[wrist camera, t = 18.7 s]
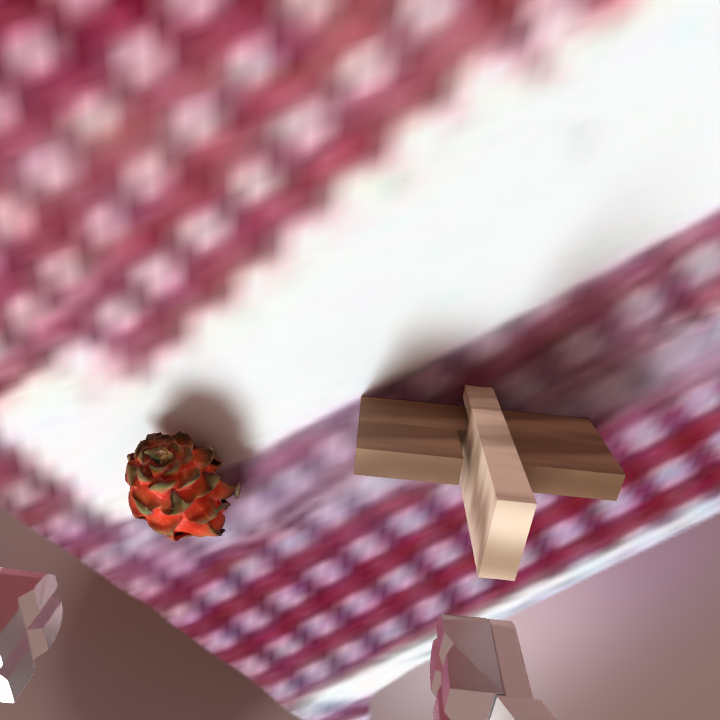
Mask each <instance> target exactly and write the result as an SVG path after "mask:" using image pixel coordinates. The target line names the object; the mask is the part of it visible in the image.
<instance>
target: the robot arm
mask: <svg viewBox="0 0 720 720" xmlns="http://www.w3.org/2000/svg"><path fill="white" fill-rule="evenodd" d="M57 587H58V585H57V582H56V578H55V575H52V574H46V573H38V572H31V571H24V570H16V569H9V568H0V702H10V703H14V702H15V701H16V699H17V697H18V696H19V694H20V693H21V691H22V690H23V688H24V686H25V685H26V684H27V682H28V680H29V679H30V677H31V676H32V674H33V673H34V671H35V665H34V659H35V658H36V657H38V656H39V655H41V654H42V653H44V652H45V651H47V650H48V649H49V648H50V646H51V644H52V643H53V641H54V639H55V638H56V636H57V633H58V630H59V627H60V625H61V622H62V612H63V610H62V604H61V601H60V600H59V599H58V598H57V597H56V596H55V595H54V594H53V592H54V591H55V589H56V588H57ZM436 627H437V638H436V639H435V640H434V641H433V645H432V651H431V662H430V679H431V691H432V692H433V694H434V695H435V697H436V700H435V705H434V709H433V720H557V719H556V717H555V716H554V715H553V714H552V713H551V711H550V710H549V709H548V708H547V707H546V706H545V704H544V703H543V702H542V701H541V700H538V699H533V696H532V692H531V688H530V684H529V680H528V676H527V672H526V668H525V664H524V660H523V656H522V652H521V648H520V644H519V640H518V636H517V632H516V628H515V625H514V624H513V622H511V621H503V620H493V619H486V618H478V617H467V616H456V615H445V614H440V616H439V618H438V622H437V626H436Z"/></svg>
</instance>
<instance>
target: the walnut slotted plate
mask: <svg viewBox="0 0 720 720" xmlns="http://www.w3.org/2000/svg"><path fill="white" fill-rule="evenodd" d="M502 413H503V416H504V418H505V421H506V424H507V426H508V429H509V432H510V434H511V437H512V439H513V442H514V445H515V447H516V450H517V453H518V455H519V458H520V461H521V463H522V466H523V469H524V471H525V474H526V476H527V479H528V482H529V484H530V487H531V490H532V492H534V493H544V494H554V495H564V496H574V497H584V498H593V499H603V500H613V501H616V500H617V497H618V495H619V492H620V489H621V487H622V484H623V481H624V478H625V476H626V475H625V473H624V472H623V470H622V469H621V467H620V466H619V464H618V463H617V461H616V460H615V458H614V457H613V455H612V453H611V452H610V450H609V449H608V447H607V446H606V444H605V443H604V441H603V440H602V438H601V437H600V435H599V434H598V432H597V431H596V429H595V427H594V426H593V424H592V423H591V421H590V420H589V419H587V418H577V417H567V416H556V415H546V414H536V413H526V412H516V411H506V410H502ZM468 424H469V419H468V416H467V412H466V408H465V406H456V405H446V404H436V403H426V402H416V401H406V400H395V399H385V398H375V397H365V396H361V404H360V414H359V424H358V434H357V445H356V455H355V465H354V474H355V475H365V476H375V477H385V478H395V479H405V480H415V481H425V482H435V483H444V484H454V485H458V484H459V479H460V475H461V470H462V465H463V460H464V458H463V448H464V443H465V438H466V433H467V428H468Z"/></svg>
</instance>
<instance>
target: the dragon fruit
mask: <svg viewBox="0 0 720 720" xmlns="http://www.w3.org/2000/svg"><path fill="white" fill-rule="evenodd" d="M127 458H128V463H127V467H126V474H125V480H126V482H127V483H128V484H129V485H130V492H129V497H128V499H129V506H130V508H131V511H132V514H133V516H134V517H135V518H139V519H144V520H146V521H148V524H149V526H150V527H151V528H152V529H153V530H155V531H156V532H158V533H160V534H163V535H166V536H167V537H168V538H169V539H171V540H173V541H178V540H179V539H180V538H183V537H189V536H197V537H204V536H209V537H210V536H221V534H222V533H223V532H224V531H225V530H224V529H222V527H223V525H224V523H225V516H224V515H223V514H222V513H223V512H224V511H225V510H226V509H227V507H228V506H231V505H230V503H228V502H227V501H226V500H225V499H227V498H229V497H231V496H232V495H233V494H234V496H235V498H236V499H238V498H239V494H240V491H241V485H240V483H237V484H236V485H233V486H232V485H228V484H226V483H224V482H222V481H220V477H219V476H218V475H217V474H216V473H215V471H216V470H217V469H218V468H219V467H220V466H221V464H222V461H221V460H220V458H217V457H216V456H215V455H214V450H213V448H212V446H210V445H209V444H207V445H206V446H205V447H204V448H198V447H197V446H195V445H193V443H192V440H191V438H190V437H189V435H188V434H186V433H184V432H182V431H180V432H179V433H177V434H176V435H174V436H171V437H170V436H169V435H163V434H162V433H153V434H148V435H147V437H146V440H143V441H140V443H139V444H138V446H137V448H136V450H135V453H131V454H128V455H127ZM220 500H221V502H222V504H221V502H220Z"/></svg>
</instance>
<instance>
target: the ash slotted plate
mask: <svg viewBox="0 0 720 720" xmlns="http://www.w3.org/2000/svg"><path fill="white" fill-rule="evenodd" d="M463 400H464V404H465V408H466V412H467V416H468V419H469V424H468V428H467V433H466V438H465V443H464V448H463V458H464V460H463V465H462V470H461V475H460V479H459V480H460V485H461V491H462V496H463V501H464V506H465V511H466V517H467V522H468V527H469V532H470V537H471V543H472V548H473V553H474V558H475V563H476V569H477V574H478V577H482V578H492V579H502V580H511V581H515V578H516V575H517V571H518V568H519V564H520V561H521V557H522V554H523V550H524V547H525V543H526V540H527V536H528V533H529V530H530V526H531V523H532V519H533V516H534V512H535V509H536V505H537V503H536V500H535V498H534V495H533V492H532V490H531V487H530V484H529V482H528V479H527V476H526V474H525V471H524V469H523V466H522V463H521V461H520V458H519V455H518V453H517V450H516V447H515V445H514V442H513V439H512V437H511V434H510V432H509V429H508V426H507V424H506V421H505V418H504V416H503V413H502V410H501V408H500V405H499V403H498V400H497V397H496V395H495V392H494V389H493V388H491V387H481V386H471V385H465V388H464V393H463Z"/></svg>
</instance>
